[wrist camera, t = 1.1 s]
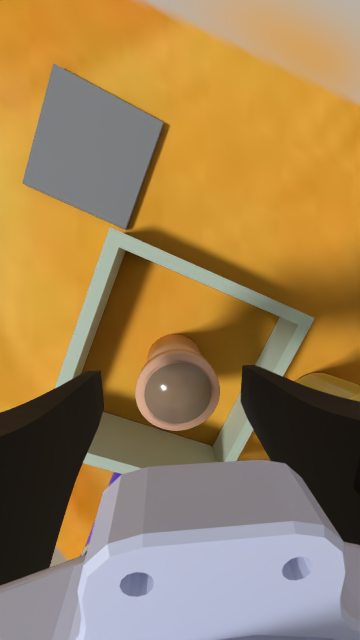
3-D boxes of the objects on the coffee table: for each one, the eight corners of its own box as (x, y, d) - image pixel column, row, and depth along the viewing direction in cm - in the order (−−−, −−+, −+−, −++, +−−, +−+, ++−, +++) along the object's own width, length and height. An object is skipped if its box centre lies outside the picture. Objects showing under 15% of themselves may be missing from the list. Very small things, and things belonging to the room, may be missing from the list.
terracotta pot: (214, 343, 21) (234, 372, 15) (190, 395, 22) (199, 440, 16) (157, 320, 20) (154, 342, 14) (134, 375, 21) (122, 416, 16)
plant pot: (289, 340, 22) (387, 397, 12) (378, 369, 23) (527, 441, 14) (247, 430, 24) (303, 540, 14) (331, 452, 25) (434, 565, 16)
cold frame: (294, 311, 21) (333, 324, 16) (217, 456, 24) (230, 503, 19) (118, 233, 18) (102, 221, 14) (57, 407, 22) (26, 447, 17)
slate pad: (163, 126, 17) (163, 122, 17) (126, 230, 18) (125, 229, 18) (56, 69, 16) (53, 63, 15) (26, 185, 17) (22, 182, 17)
